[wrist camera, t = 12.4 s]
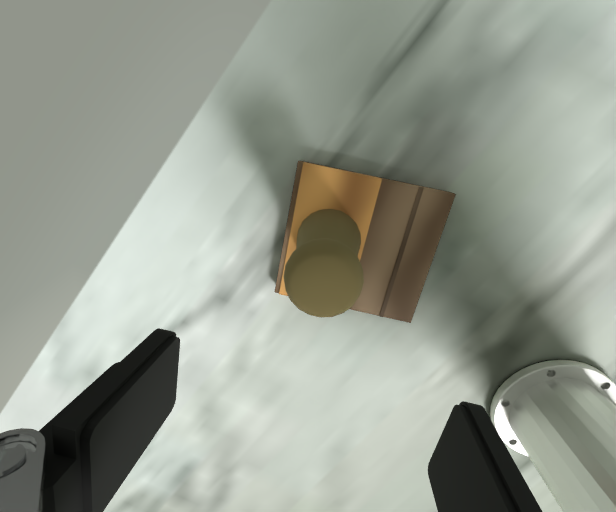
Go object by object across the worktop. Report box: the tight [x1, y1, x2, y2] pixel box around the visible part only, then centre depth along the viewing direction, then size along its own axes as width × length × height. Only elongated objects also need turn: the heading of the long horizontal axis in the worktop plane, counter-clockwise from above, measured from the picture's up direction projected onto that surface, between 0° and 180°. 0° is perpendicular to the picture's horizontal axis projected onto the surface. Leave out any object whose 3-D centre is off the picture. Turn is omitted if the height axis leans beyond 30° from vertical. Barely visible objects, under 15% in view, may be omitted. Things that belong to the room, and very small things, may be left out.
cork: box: [283, 209, 364, 317], centre depth 24 cm, size 6×6×11 cm
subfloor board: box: [275, 161, 456, 323], centre depth 30 cm, size 14×13×2 cm
